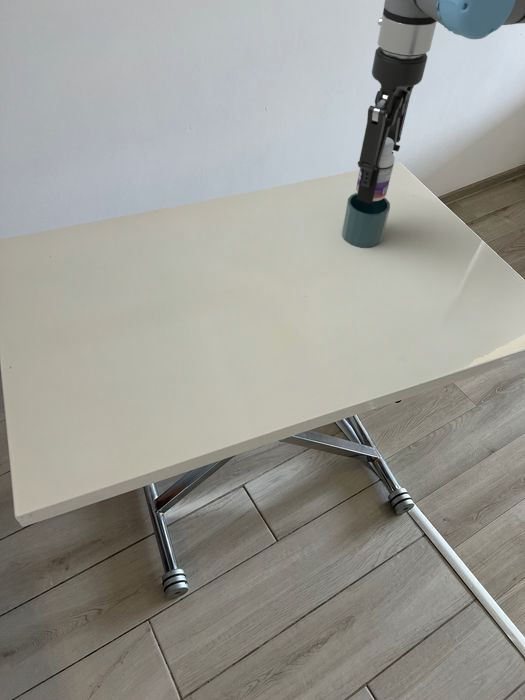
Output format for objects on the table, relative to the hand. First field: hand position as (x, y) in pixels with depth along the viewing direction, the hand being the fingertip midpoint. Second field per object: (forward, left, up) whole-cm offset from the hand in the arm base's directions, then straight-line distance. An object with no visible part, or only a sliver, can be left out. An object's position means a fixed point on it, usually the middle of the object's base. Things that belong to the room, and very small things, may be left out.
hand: (371, 192), depth 94 cm
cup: (0, 0, -9) cm, 9 cm away
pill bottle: (0, 0, -1) cm, 1 cm away
